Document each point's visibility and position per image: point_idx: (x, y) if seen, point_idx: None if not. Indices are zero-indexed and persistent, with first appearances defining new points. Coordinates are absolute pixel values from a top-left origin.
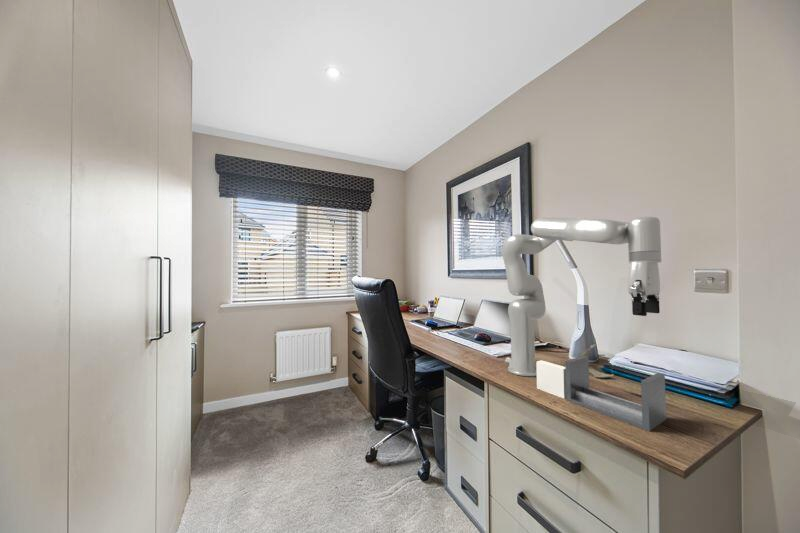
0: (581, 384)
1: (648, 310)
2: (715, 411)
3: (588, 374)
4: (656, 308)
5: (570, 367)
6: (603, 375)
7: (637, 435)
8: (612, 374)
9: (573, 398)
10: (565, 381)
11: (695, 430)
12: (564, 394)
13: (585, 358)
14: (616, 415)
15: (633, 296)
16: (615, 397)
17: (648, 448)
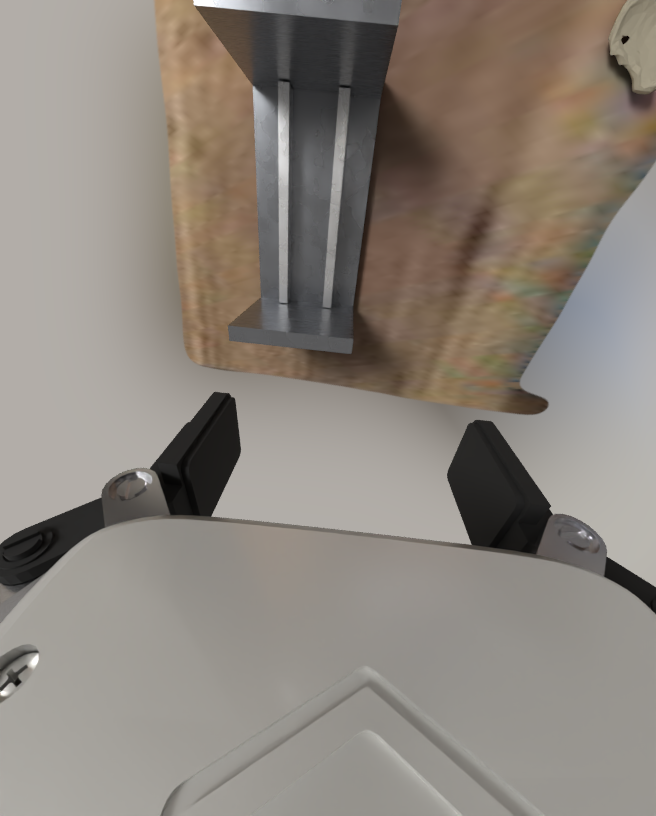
0: (322, 78)
1: (469, 442)
2: (474, 371)
3: (382, 71)
4: (460, 495)
5: (210, 22)
6: (650, 40)
7: (226, 296)
8: (653, 83)
9: (262, 91)
10: None
11: (340, 358)
12: None
13: (362, 24)
14: (259, 243)
15: (33, 538)
16: (330, 215)
17: (197, 320)
